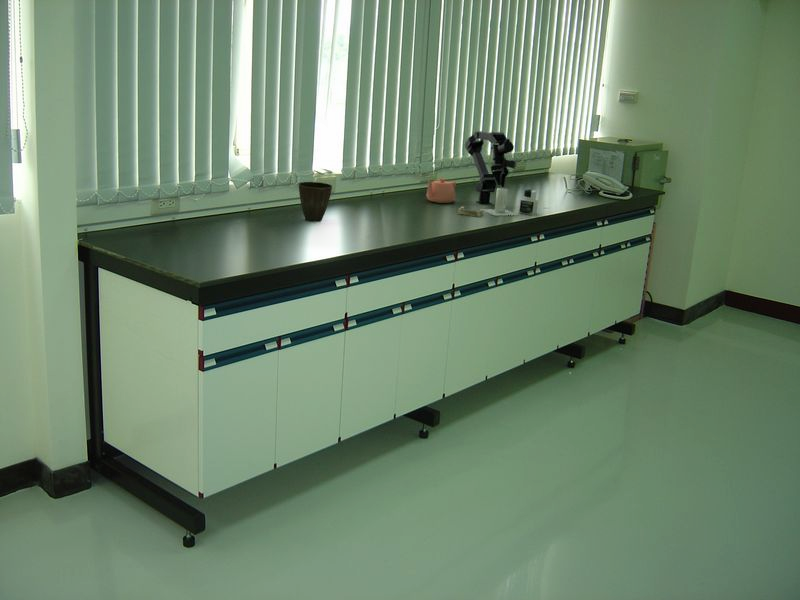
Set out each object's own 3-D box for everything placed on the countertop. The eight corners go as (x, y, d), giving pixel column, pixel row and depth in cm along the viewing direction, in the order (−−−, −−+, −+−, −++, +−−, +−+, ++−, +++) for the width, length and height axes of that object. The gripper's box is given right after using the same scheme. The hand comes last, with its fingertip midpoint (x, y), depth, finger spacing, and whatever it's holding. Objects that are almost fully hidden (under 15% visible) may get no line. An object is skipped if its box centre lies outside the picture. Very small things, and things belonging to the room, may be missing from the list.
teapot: (434, 205, 438) (436, 182, 435) (414, 200, 449) (416, 177, 445) (464, 202, 453) (466, 179, 449) (443, 197, 463) (445, 175, 460)
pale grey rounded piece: (492, 210, 434) (495, 187, 430) (502, 211, 435) (505, 188, 432) (498, 214, 427) (500, 190, 423) (508, 214, 428) (510, 190, 425)
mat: (481, 210, 436) (481, 209, 435) (505, 210, 441) (505, 209, 441) (494, 215, 423) (494, 215, 423) (518, 215, 429) (518, 214, 429)
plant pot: (328, 217, 391) (330, 182, 386) (331, 224, 377) (333, 188, 372) (296, 215, 388) (297, 181, 384) (298, 222, 374) (299, 186, 370)
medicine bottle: (519, 213, 436) (521, 189, 432) (523, 211, 442) (526, 188, 438) (532, 215, 433) (535, 191, 429) (536, 213, 439) (539, 190, 435)
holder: (461, 211, 428) (461, 206, 428) (482, 214, 426) (483, 209, 425) (457, 214, 421) (458, 209, 420) (479, 216, 418) (479, 211, 418)
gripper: (510, 151, 428) (513, 182, 427) (517, 156, 445) (520, 186, 445) (489, 154, 431) (491, 184, 431) (496, 159, 449) (499, 189, 449)
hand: (501, 186), depth 439 cm, fingers open, 9 cm apart
